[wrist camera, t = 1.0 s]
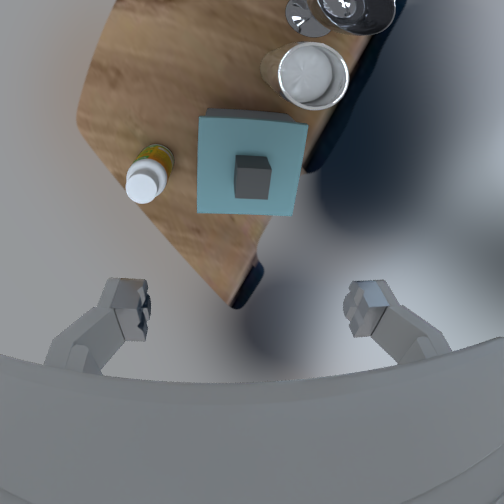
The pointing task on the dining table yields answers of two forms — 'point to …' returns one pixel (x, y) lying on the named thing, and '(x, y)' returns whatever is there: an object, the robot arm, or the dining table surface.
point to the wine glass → (340, 16)
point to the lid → (248, 165)
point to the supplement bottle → (149, 173)
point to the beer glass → (306, 74)
